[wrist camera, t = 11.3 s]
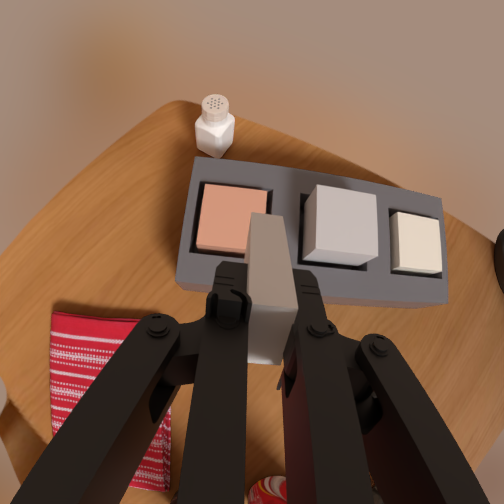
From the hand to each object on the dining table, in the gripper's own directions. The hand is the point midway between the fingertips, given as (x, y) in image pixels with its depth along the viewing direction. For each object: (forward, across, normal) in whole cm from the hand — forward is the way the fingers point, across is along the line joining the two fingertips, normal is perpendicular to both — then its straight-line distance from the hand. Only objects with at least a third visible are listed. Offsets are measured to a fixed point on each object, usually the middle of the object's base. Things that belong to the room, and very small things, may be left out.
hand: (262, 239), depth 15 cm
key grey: (+17, +9, -7) cm, 21 cm away
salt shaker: (+31, -6, -3) cm, 32 cm away
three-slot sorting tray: (+22, +9, -12) cm, 26 cm away
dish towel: (+5, -15, -29) cm, 33 cm away
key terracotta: (+19, -2, -10) cm, 21 cm away
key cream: (+19, +20, -10) cm, 30 cm away
